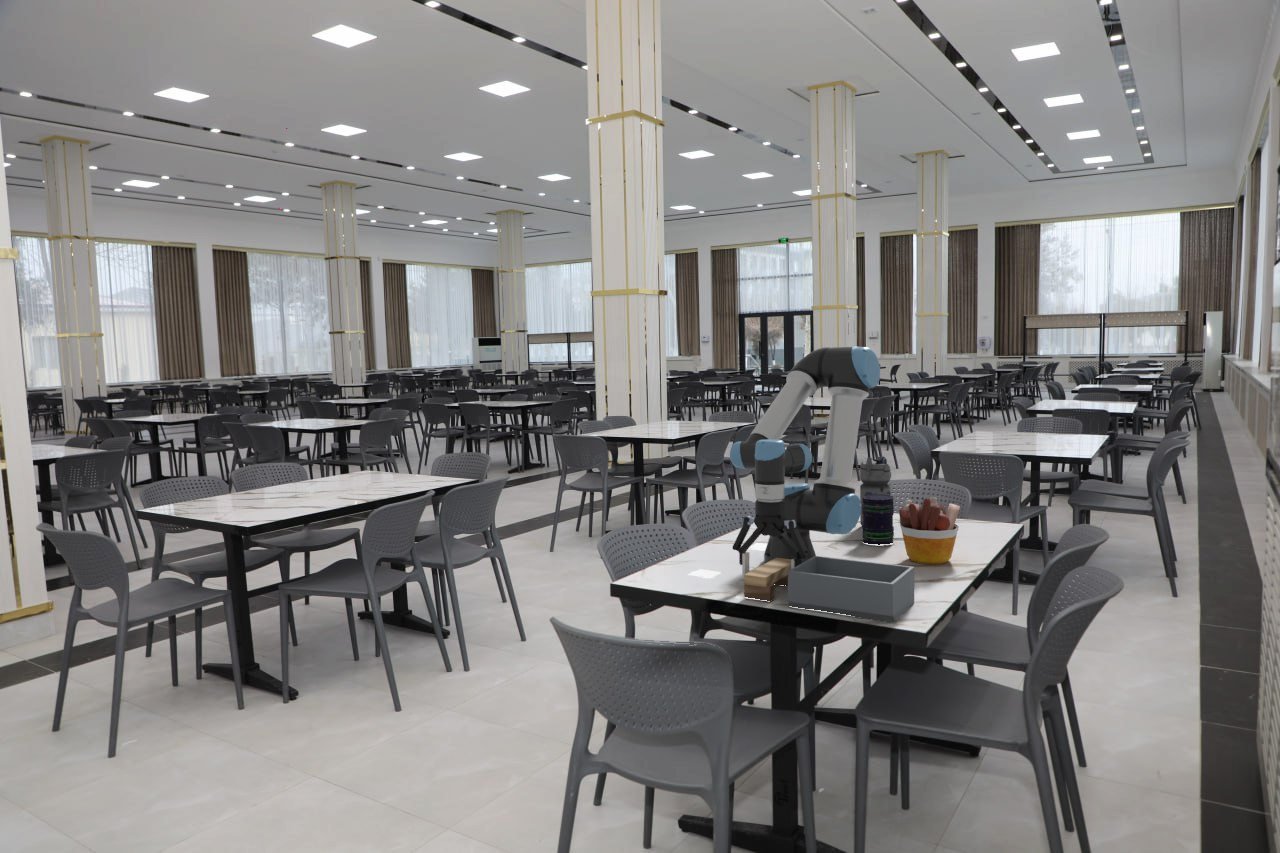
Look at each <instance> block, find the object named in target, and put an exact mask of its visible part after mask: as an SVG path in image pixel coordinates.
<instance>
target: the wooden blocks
mask: <svg viewBox="0 0 1280 853" xmlns="http://www.w3.org/2000/svg"><path fill="white" fill-rule="evenodd" d="M774 584H775V585H774ZM776 585H784V586H785V585H786V586H788V575H787V576H785V577H783V578H781V579H780V580H778V581H776V582H775V583H773V584H771V585H769V586H768V587H759V586H752V585H744V584H743V598H744V597H748V598H755V599H760V600H767V601H771V600H773V599H774V598H775V592H776V591H775V586H776ZM775 599H776V598H775ZM773 601H774V600H773ZM771 602H772V601H771Z"/></svg>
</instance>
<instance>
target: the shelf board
mask: <svg viewBox="0 0 1280 853" xmlns="http://www.w3.org/2000/svg"><path fill="white" fill-rule="evenodd" d="M791 560H792V559H783V558H775V559H773V560H771V561H769V562H767V563H763V564H761V565H760V566H758V567H756V568H754V569H752V570H749V572H748V573H746V574H744V578H743V586H744V585H752V586H759V587H768V586H769V585H771V584H773V583H775V582H776V581H778V580H780V579H781V578H783V577H785V576H787V575H788V571H789V570H791Z"/></svg>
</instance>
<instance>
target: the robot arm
mask: <svg viewBox="0 0 1280 853" xmlns="http://www.w3.org/2000/svg"><path fill="white" fill-rule="evenodd" d="M880 378H881V366H880V362H879V359H878V357H877V354H876V353H875V351H873V349H872V348H870V347H867V346H858V345H854V346H844V347H842V346H840V347H834V346H833V347H821V348H818V349H815V350H813V351H811V352H809V353H807V354H806V355H804V357H802V358H801V359H800V360H799V361H798V362H796V363H795V365H794V366H793V367H792V368H791V369H790V371H789V372H788V373H787V375H786V378H785V379H786V380H785V381H786V383H785V384H784V385H783V387H782V388H781V389H780V391H779V393H778V394H777V396H776V397H775V398H774V400H773V401H772V403H771V404H770V405H769V407H768V408H767V410H766V411H765V412H764V414H763V416H761V419H759V421H758V423H757V424H756V425H755V427H754V428H753V430H752V431H751V432H750V435H749V436H748V438H747V439H746V440H745V441H744V440H741V441H736V442H734V443H733V444H732V445H731V447H730V450H729V458H730V462H731V464H732V465H733V467H735V468H737V469H743V470H747V471H749V470H754V472H755V475H754V476H755V480H754V481H755V483H754V488H755V489H754V497H755V499H756V500H755V501H754V513H755V517H754V516H752V515H749V514H748V515H746V516H745V517H743V522H742V526H741V528H740V531H739V532H738V535H737V537H736V539H735V540H734V543H733V545H732V550H734V551H737V552H738V556H739V561H738V562H739V565H740V566H742V568H741V569H742V573H741V574H742V576H741V577H742V579H744V574H746V573H748V572H750V552H749V551H748V549H749V548H750V547H751V546H752V545H753V544H754V542H755V541H757V540H758V538H759V537H760V536H761V535H762V536H769V537H768V540H767V544H766V547H765V551H764V554H763V562H765V563H767V562H769V561H771V560H773V559H775V558H783V559H792V560H791V569H793V568H794V567H796V566H798V565H800V564H801V563H803V562H805V561H807V560H808V559H810V558H812V557H814V556H817V554H816V551H815V548H814V545H813V542H812V539H811V534H810V531H812V532H819V533H826V534H830V535H847V534H849V533H851V532H852V531H853V530H854V528H856V526H857V524H858V523H859V520H860V514H861V505H860V503H861V501H860V497H859V496H858V495H857V494H856V488H855V487H854V484H852V477H853V476H852V475H853V469H854V463H855V455H856V448H857V440H858V434H859V427H860V421H861V413H862V412H861V411H862V407H863V406H862V405H863V401H864V400H865V399H866V398H867V397H869V395H870V389H873V388H875V387H876V386H878V384H879V382H880ZM826 387H827V392H828V393H829V394H830V395H831V403H830V409H829V416H828V423H827V428H826V434H825V435H826V436H825V442H824V448H823V457H822V465H821V470H820V475H819V476H820V477H819V478H818V479H816V480H815V481H814V482H813V488H812V489H811V487H810V485H809V483H807V482H806V483H805V482H804V483H789V484H786V483H785V482H786V481H785V475H788V474H789V475H790V474H794V473H796V474H797V473H800V472H804V471H806V470H808V468H809V467H810V466H811V465H812V461H813V454H812V451H811V449H810V448H809V447H808V446H807V445H805V444H803V443H795V442H794V443H791V444H788V443H786V444H785V442H784V440H782V439H781V438H782V436H783V435H784V433H785V432H786V430H787V429H788V427H789V426H790V425H791V423H792V422H793V420H794V418H795V417H796V415H797V414H798V412H799V411H800V410H801V408H802V407H803V405H804V404H805V402H806V401H807V399H808V398H809V397H812V396H814V394H815V393H816V392H817V391H818V390H819V389H822V388H826ZM753 524H755V527H756V529H754V531H752V534H751V535H750V536H749V537H748V538H747V540H746V541H745V539H746V537H747V535H748V533H749V531H750V528H751V525H753ZM744 541H745V542H744ZM743 542H744V543H743ZM765 563H764V564H765Z"/></svg>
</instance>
